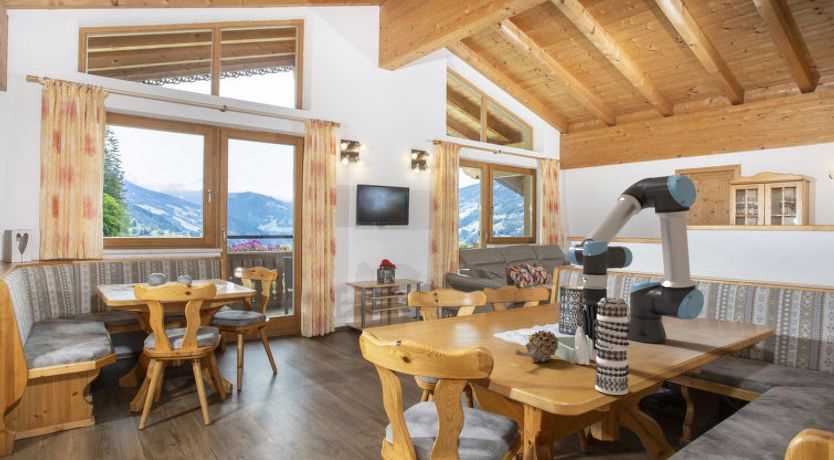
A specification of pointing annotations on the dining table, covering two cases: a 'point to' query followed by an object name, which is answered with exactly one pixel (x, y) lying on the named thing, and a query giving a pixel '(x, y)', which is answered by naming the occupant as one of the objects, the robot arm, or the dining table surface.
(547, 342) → the pine cone
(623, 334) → the decorative candle
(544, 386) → the dining table surface
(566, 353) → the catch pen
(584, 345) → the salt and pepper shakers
